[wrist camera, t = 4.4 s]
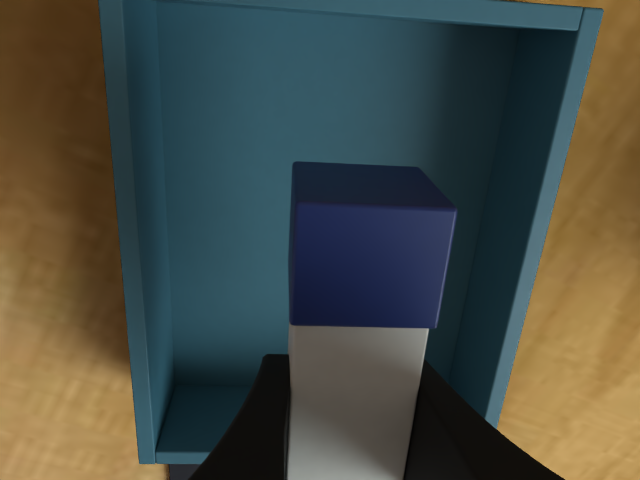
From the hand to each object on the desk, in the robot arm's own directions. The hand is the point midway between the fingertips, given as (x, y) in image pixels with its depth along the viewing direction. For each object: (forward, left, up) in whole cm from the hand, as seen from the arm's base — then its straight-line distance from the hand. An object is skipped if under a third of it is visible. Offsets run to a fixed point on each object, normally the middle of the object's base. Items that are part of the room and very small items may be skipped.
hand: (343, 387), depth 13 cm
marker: (0, 0, -1) cm, 1 cm away
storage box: (0, +1, -8) cm, 8 cm away
